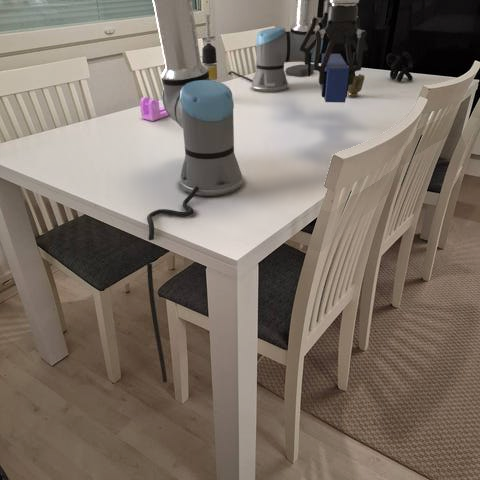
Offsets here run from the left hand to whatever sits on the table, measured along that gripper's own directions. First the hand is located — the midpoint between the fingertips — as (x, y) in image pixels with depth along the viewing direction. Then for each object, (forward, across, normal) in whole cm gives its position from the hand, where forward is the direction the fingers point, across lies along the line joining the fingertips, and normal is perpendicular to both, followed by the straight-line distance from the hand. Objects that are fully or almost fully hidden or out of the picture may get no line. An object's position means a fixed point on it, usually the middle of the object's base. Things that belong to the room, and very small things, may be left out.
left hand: (334, 96), depth 127 cm
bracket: (+14, +58, -26) cm, 65 cm away
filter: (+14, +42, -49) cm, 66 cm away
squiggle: (+13, -38, -82) cm, 91 cm away
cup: (+13, -14, -53) cm, 56 cm away
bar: (+1, 0, -7) cm, 7 cm away
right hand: (-2, 0, -15) cm, 16 cm away
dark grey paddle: (+13, +2, -101) cm, 102 cm away
